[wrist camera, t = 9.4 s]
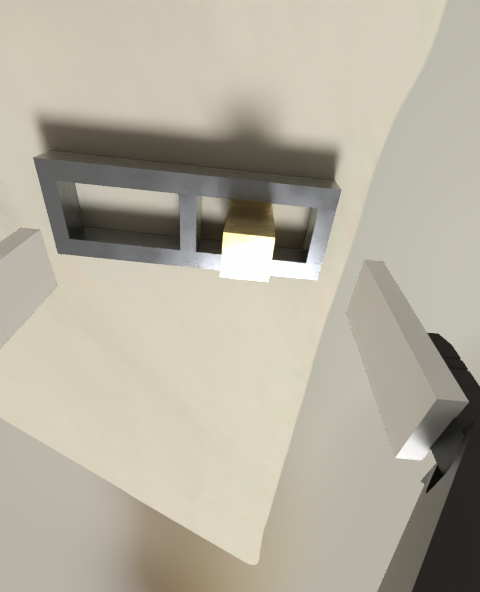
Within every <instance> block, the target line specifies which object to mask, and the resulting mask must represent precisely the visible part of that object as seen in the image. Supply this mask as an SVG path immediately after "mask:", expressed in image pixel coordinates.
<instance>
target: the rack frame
mask: <svg viewBox="0 0 480 592" xmlns="http://www.w3.org/2000/svg"><path fill="white" fill-rule="evenodd" d="M33 159H34V162H35V166H36V170H37V174H38V178H39V182H40V186H41V190H42V193H43V197H44V201H45V205H46V209H47V213H48V217H49V221H50V224H51V228H52V232H53V236H54V240H55V244H56V248H57V252H58V254H67V255H77V256H87V257H96V258H106V259H116V260H126V261H135V262H145V263H155V264H164V265H174V266H184V267H194V268H203V269H213V270H221V259H222V244H223V241H215V240H205V239H201V196H207V197H216V198H226V199H235V200H245V201H254V202H264V203H273V204H283V205H292V206H302V207H312V210H311V215H310V219H309V224H308V228H307V233H306V237H305V242H304V246H303V250H301V249H292V248H282V247H274V249H273V255H272V261H271V267H270V273H269V275H271V276H281V277H291V278H300V279H310V280H318V276H319V272H320V269H321V265H322V261H323V257H324V254H325V250H326V246H327V242H328V238H329V235H330V231H331V227H332V223H333V220H334V216H335V212H336V208H337V205H338V201H339V197H340V193H341V189H340V187H339V186H338V185H337V183H336V182H335V180H326V179H317V178H307V177H298V176H288V175H279V174H269V173H260V172H250V171H241V170H232V169H222V168H213V167H203V166H194V165H184V164H175V163H165V162H156V161H147V160H137V159H128V158H118V157H109V156H99V155H90V154H80V153H71V152H61V151H50V152H47V153H44V154H41V155H39V156H36V157H33ZM75 183H83V184H92V185H102V186H111V187H121V188H131V189H140V190H150V191H159V192H169V193H178V194H179V197H180V237H176V236H167V235H157V234H147V233H138V232H128V231H118V230H109V229H99V228H89V227H83V222H82V217H81V212H80V207H79V202H78V197H77V192H76V187H75Z"/></svg>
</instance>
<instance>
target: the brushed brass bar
mask: <svg viewBox="0 0 480 592" xmlns="http://www.w3.org/2000/svg"><path fill="white" fill-rule="evenodd" d="M274 243H275V229H274V219H273V208H272V203H263V202H254V201H244V200H235V199H231V201H230V205H229V210H228V214H227V218H226V223H225V227H224V231H223V244H222V259H221V274H220V277H226V278H235V279H245V280H255V281H264V282H268V279H269V273H270V267H271V261H272V255H273V249H274Z"/></svg>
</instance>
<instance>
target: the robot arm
mask: <svg viewBox="0 0 480 592" xmlns="http://www.w3.org/2000/svg"><path fill="white" fill-rule="evenodd" d="M57 286H58V285H57V282H56V279H55V276H54V273H53V269H52V266H51V263H50V260H49V257H48V253H47V250H46V247H45V244H44V241H43V237H42V234H41V231H40V230H39V229H29V228H20V229H19V230H17V231H16V232H14V233H13V234H11V235H10V236H9V237H7V238H6V239H4V240H3V241H1V242H0V349H1V348H2V347H3V346H4V345H5V344H6V343H7V341H8V340H9V339H10V338H11V337H12V336H13V335H14V334H15V333H16V331H17V330H18V329H19V328H20V327H21V326H22V325H23V324H24V323H25V321H26V320H27V319H28V318H29V317H30V316H31V315H32V314H33V313H34V312H35V310H36V309H37V308H38V307H39V306H40V305H41V304H42V303H43V302H44V300H45V299H46V298H47V297H48V296H49V295H50V294H51V293H52V292H53V291H54V289H55V288H56V287H57ZM346 314H347V317H348V319H349V323H350V326H351V328H352V331H353V335H354V338H355V340H356V343H357V346H358V349H359V352H360V355H361V358H362V361H363V364H364V367H365V370H366V373H367V376H368V379H369V382H370V385H371V388H372V390H373V393H374V397H375V400H376V403H377V405H378V408H379V412H380V414H381V417H382V420H383V423H384V426H385V429H386V432H387V435H388V438H389V441H390V443H391V447H392V450H393V453H394V456H395V458H402V459H413V460H422V459H423V458H424V457H425V456H426V454H427V453H428V452H429V451H430V449H431V450H432V453H433V455H434V457H435V460H436V462H437V463H436V464H435V465H434V466H433V468H432V469H431V470H430V471H429V472H428V473H427V474H426V476H425V477H424V478H423V479H422V480H421V482H423V483H424V484H425V485H424V487H423V490H422V492H421V494H420V496H419V499H418V501H417V503H416V505H415V508H414V510H413V512H412V514H411V517H410V519H409V521H408V523H407V526H406V528H405V530H404V533H403V535H402V537H401V540H400V542H399V544H398V546H397V549H396V551H395V553H394V555H393V558H392V560H391V562H390V564H389V567H388V569H387V571H386V574H385V576H384V578H383V580H382V583H381V585H380V587H379V589H378V592H480V386H479V385H478V383H477V382H476V380H475V379H474V377H473V376H472V374H471V373H470V371H467V367H466V366H465V364H464V363H463V361H461V360H460V357H459V355H458V354H457V352H456V351H455V349H454V348H453V346H452V345H451V344H450V343H448V342H447V341H446V340H445V339H444V338H443V337H442V336H440V335H439V334H435V333H427V332H426V331H425V329H424V327H423V326H422V324H421V322H420V321H419V319H418V318H417V316H416V314H415V313H414V311H413V309H412V308H411V306H410V304H409V303H408V301H407V299H406V298H405V296H404V294H403V293H402V291H401V290H400V288H399V286H398V285H397V283H396V281H395V280H394V278H393V277H392V275H391V273H390V271H389V270H388V268H387V267H386V265H385V263H384V262H383V261H372V260H364V263H363V266H362V269H361V271H360V274H359V277H358V280H357V283H356V286H355V289H354V291H353V294H352V297H351V300H350V303H349V306H348V309H347V311H346Z"/></svg>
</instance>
